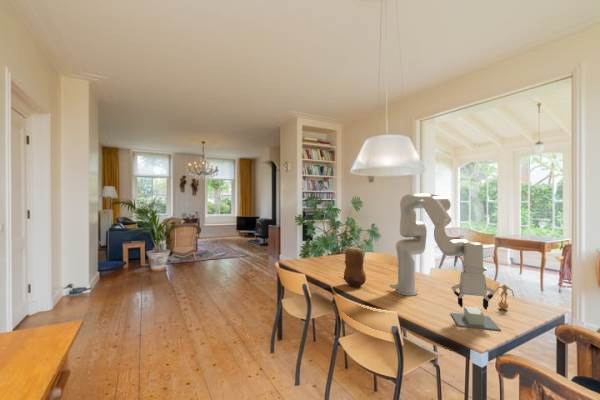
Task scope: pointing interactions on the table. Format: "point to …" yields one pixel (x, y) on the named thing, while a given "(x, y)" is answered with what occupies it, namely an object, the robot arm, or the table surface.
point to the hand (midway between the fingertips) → (472, 307)
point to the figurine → (502, 303)
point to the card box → (474, 315)
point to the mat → (463, 322)
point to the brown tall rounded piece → (354, 267)
